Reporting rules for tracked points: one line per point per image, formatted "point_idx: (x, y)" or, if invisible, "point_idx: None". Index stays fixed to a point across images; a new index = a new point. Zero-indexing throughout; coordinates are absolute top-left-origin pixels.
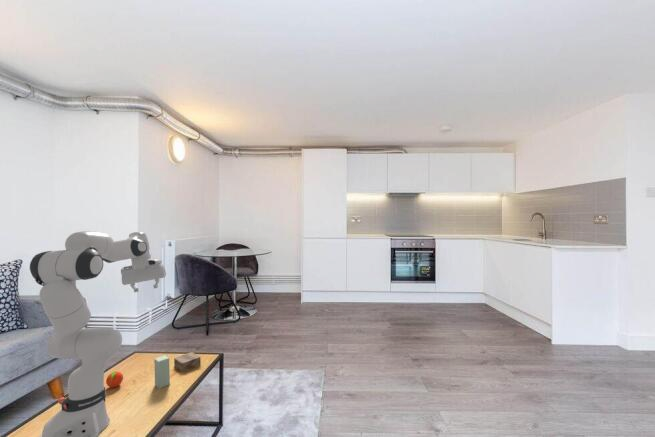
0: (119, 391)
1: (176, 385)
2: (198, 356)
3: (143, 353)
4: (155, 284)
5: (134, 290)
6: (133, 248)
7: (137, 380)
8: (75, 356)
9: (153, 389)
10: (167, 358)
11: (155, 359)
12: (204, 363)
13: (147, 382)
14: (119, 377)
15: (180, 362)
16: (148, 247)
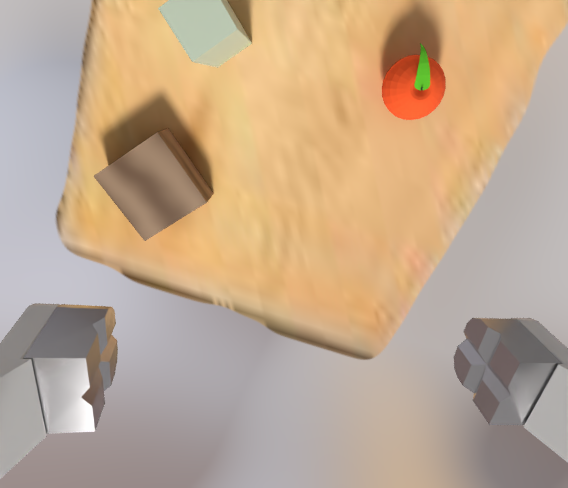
0: (378, 34)
1: None
2: (103, 183)
3: (356, 344)
4: (9, 365)
5: (542, 335)
6: None
7: (330, 112)
8: None
9: (248, 2)
10: (166, 4)
11: (229, 15)
12: None
13: (287, 79)
14: (394, 71)
15: (168, 147)
16: None
